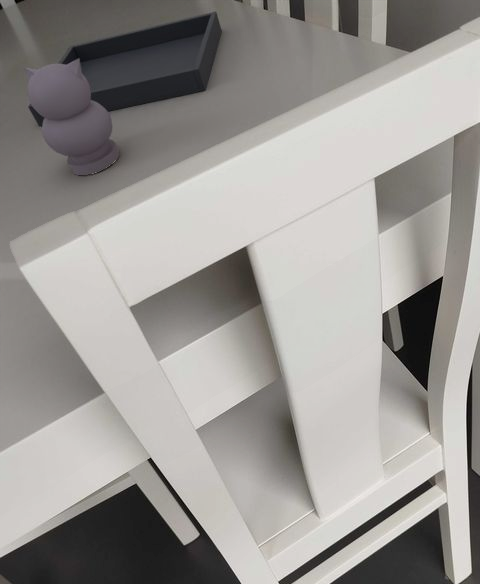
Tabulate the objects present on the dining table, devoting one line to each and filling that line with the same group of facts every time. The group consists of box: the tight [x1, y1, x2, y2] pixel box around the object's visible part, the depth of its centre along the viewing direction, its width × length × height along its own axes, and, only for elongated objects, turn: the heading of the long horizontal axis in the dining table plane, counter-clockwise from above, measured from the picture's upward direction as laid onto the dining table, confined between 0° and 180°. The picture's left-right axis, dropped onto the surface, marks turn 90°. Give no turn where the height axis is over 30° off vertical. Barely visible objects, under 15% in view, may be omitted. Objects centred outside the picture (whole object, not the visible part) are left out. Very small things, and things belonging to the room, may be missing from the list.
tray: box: [27, 10, 222, 127], centre depth 90 cm, size 26×22×3 cm
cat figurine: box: [23, 59, 120, 176], centre depth 70 cm, size 8×8×12 cm
